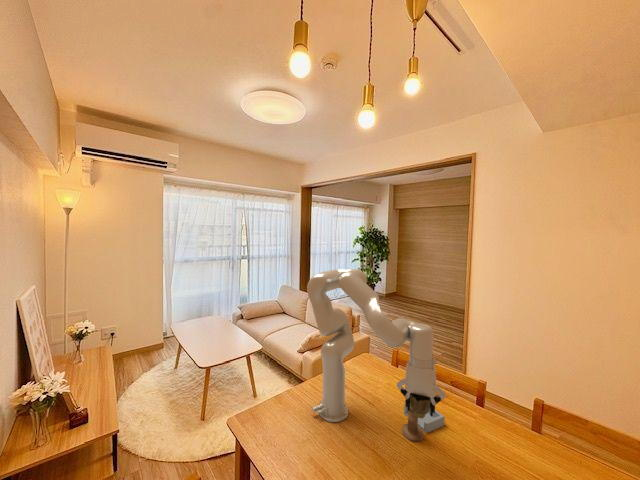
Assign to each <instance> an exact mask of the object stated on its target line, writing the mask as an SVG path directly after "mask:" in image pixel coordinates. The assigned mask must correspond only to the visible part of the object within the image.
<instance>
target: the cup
mask: <svg viewBox="0 0 640 480" xmlns="http://www.w3.org/2000/svg"><path fill="white" fill-rule="evenodd" d="M409 398H410V405H411V408H412V409H413V411H414V414H415V416H416V417H418V418H424V417H425V414H427V413H428V412H429V410H430V405H431V399H430V398H429V397H427V396H422V395H418V394H413V393H411V395H410V397H409Z"/></svg>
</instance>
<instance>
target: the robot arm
mask: <svg viewBox="0 0 640 480" xmlns="http://www.w3.org/2000/svg"><path fill="white" fill-rule="evenodd" d="M367 283H368V277H367V275H366V273H365V272H364V271H362V270H361V269H358V268H357V269H356V268H355V269H353V268H352V269H331V270H327V271H322V272H319V273H316V274H314V275H313V276H312V277H310V279H309V281H308V282H307V286H306V288H307V289H306V291H307V293H306V294H307V295H308V299H309V301H310V304H311V307H312V311H313V314H314V318H315V323H316V326H317V330H318V331H319V333H320V335H321V336H323V337H329V336H331V337H330V338H328V339H327V340H326V341H325V342H324V343H323V344H322V346H321V348H320V356H321V362H322V363H321V364H322V399H321V400H320V402H319V404H318V405H315V406H311V412H312V413H316V414H317V415H319V416H320V417H321V418H322V419H323V420H324V421H327V422H328V423H339V422H343V421H344V420H345V419H347V417H348V416H349V407H348V406H347V405H346V368H345V365H344V358H345V357H347V356H348V355H349V354H350V353H351V352H352V351H353V350H354V348H355V339H354V335H353V331H352V327H351V325H350V320H349V319H348V318H349V317H348V316H347V313H346V312H345V311H344V310H342V309H341V308H333V304H332V301H331V298H329V295H328V294H327V293H328V292H330V291H334V290H336V289H341V290H342V291H343V293H345V294H346V295H347V296H348V297H349V298H350V299H351V300H352V301H353V302H354V303H355V304H356V305H357V306H358V307H359V308H360V309H361V310H362V313H363V314H364V315H363V316H364V317H365V320H366V322H367V324H368V326H369V327H370V329H371V330H372V332H373V333H374V334H375V335H376V336H378V337H379V339H380V340H381V341H382V342H383V343H384V344H386V345H387V346H389V347H391V348H399V347H401V346H403V345H404V344H405V343H406V341H409V359H408V360H407V362H406V365H405V366H406V368H405V374H404V375H405V377H404V378H403V379H401V380H399V381H398V382H396V385H395V386H396V387H397V389H399V391H400V393H401V394H402V395H403V397H404V399H405V400H406V406H407V407H408V411H410V398H409V397H410V395H411V393H413V394H418V395H422V396H427V397H429V398H430V399H431V405H430V416H431V417H433V413H435V410H436V405H437V404H438V403H439V402H441V401H442V400H444V399H445V398H446V396H447V395H446V392H445V391H444V390H443V389H442V388H441V387H440V386H439V385H438V384H437V372H436V366H435V365H438V359H435V358H434V357H433V356H434V355H433V354H434V330H433V328H432V327H431V326H430V325H429V324H426V323H421V322H420V323H419V322H414V321H411V320H410V319H409V320H408V319H407V318H402V317H399V318H395V319H394V320H393V321H391V320H390V319H389V318H388V317H387V316H386V315H385V314H384V313H383V310H382V309H381V307H380V306H381V305H380V299H379V297H380V296H379V294H378V293H377V292H376V291H375V290H373V288H371V286H369V284H367ZM332 335H333V336H332ZM403 386H404V387H403ZM437 393H438V394H437Z"/></svg>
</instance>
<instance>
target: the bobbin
mask: <svg viewBox="0 0 640 480" xmlns="http://www.w3.org/2000/svg"><path fill="white" fill-rule="evenodd" d="M404 405H405V406H406V399H405V400H404ZM406 408H407V409H408V407H407V406H406ZM401 428H402V429H401V432H402V436H403V437H404V438H405V439H407V440H408V441H411V442H414V443H418V442H422V441H423V439H424V431H423V430H422V429H421V428H420V427H419V426H418V417H416V416H415V414H414V411H413V409H412V408H411V405H410V411H408V416H407V422H406V423H404V424H403V425H402V427H401Z"/></svg>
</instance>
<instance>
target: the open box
mask: <svg viewBox="0 0 640 480" xmlns="http://www.w3.org/2000/svg"><path fill="white" fill-rule="evenodd" d="M403 414H404V415H405V416H407V417H408V409H407V408H406V406H405V404H404V405H403ZM445 418H446V417H445V416H444V414H442V413H441V412H439V411H438V410H437V409H435V413H433V417H431V416H430V410H429V412H428V413H427V414H425V417H424V418H418V426H419V427H420V428H421V429H422V431H423V432H424V433H425V434H427V433H430V432H432V431H435V430H437V429H441V428H442V427H444V426H445Z"/></svg>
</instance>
